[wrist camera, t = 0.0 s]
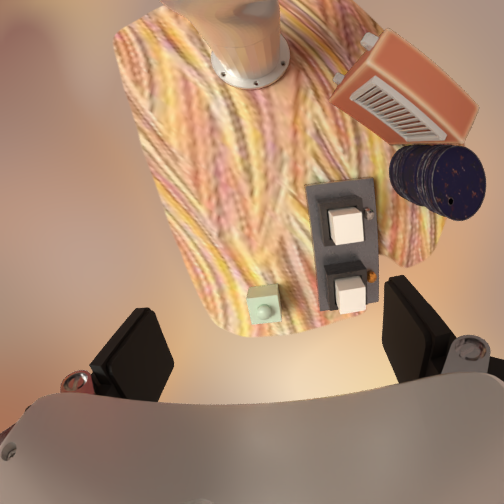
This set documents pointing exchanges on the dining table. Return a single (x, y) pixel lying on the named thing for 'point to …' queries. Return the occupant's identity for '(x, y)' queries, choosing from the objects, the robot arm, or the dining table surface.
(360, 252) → the breaker board
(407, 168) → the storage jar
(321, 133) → the dining table surface
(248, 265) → the dining table surface
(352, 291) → the tagged breaker button
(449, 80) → the orange fan heater
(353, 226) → the breaker button
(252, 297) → the cap
